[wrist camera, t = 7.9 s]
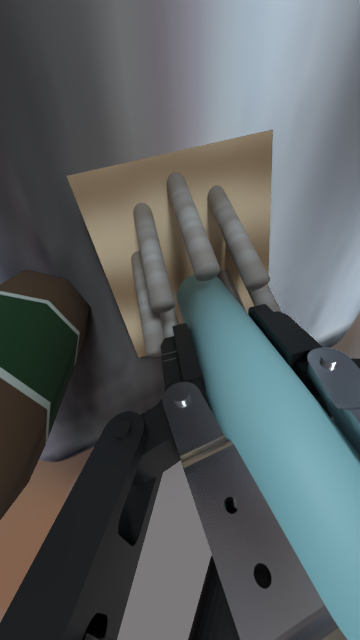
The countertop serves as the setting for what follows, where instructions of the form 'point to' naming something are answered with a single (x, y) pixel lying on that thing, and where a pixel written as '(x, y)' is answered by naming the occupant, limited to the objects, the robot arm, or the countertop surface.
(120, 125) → the countertop surface
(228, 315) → the peg
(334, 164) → the countertop surface
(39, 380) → the beer bottle
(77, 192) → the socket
